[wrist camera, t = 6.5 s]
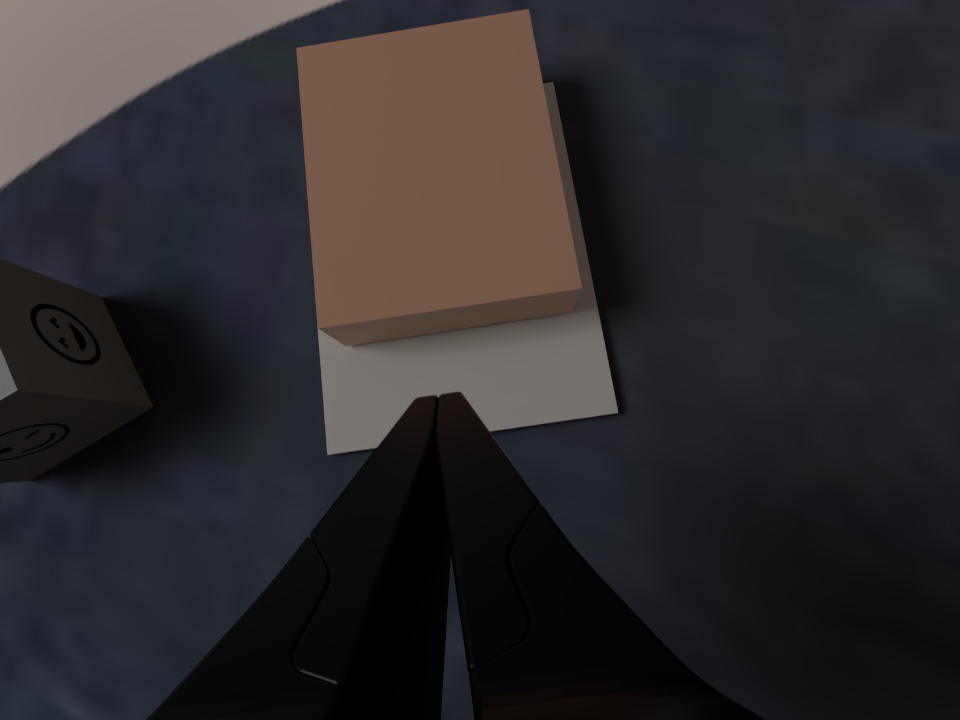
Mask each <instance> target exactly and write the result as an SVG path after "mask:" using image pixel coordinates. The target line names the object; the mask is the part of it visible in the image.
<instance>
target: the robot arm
mask: <svg viewBox="0 0 960 720" xmlns="http://www.w3.org/2000/svg"><path fill="white" fill-rule="evenodd" d="M310 535H311V537H308V538H306V540H305V541H304V542H303V543H302V545H301V546H300V547H299V549H298V550H297V551H296V552H295V554H294V555H293V556H292V558H291V559H290V560H289V561H288V562H287V564H286V565H285V566H284V567H283V569H282V570H281V571H280V572H279V574H278V575H277V576H276V577H275V578H274V580H273V581H272V582H271V583H270V585H269V586H268V587H267V588H266V589H265V590H264V592H263V593H262V594H261V595H260V596H259V597H258V598H257V600H256V601H255V602H254V603H253V604H252V605H251V606H250V607H249V609H248V610H247V611H246V612H245V613H244V614H243V615H242V616H241V618H240V619H239V620H238V621H237V622H236V623H235V624H234V625H233V626H232V628H231V629H230V630H229V631H228V632H227V633H226V634H225V635H224V636H223V637H222V638H221V639H220V641H219V642H218V643H217V644H216V645H215V646H214V647H213V648H212V649H211V650H210V651H209V652H208V654H207V655H206V656H205V657H204V658H203V659H202V660H201V661H200V662H199V663H198V664H197V666H196V667H195V668H194V669H193V670H192V671H191V672H190V673H189V674H188V675H187V676H186V677H185V679H184V680H183V681H182V682H181V683H180V684H179V685H178V686H177V687H176V688H175V689H174V691H173V692H172V693H171V694H170V695H169V696H168V697H167V698H166V699H165V700H164V701H163V702H162V704H161V705H160V706H159V707H158V708H157V709H156V710H155V711H154V712H153V713H152V714H151V715H150V716H149V717H148V718H147V719H146V720H441V706H442V690H443V673H444V657H445V640H446V624H447V607H448V591H449V574H450V558H451V557H452V564H453V571H454V578H455V585H456V592H457V599H458V605H459V612H460V619H461V626H462V633H463V640H464V646H465V653H466V660H467V667H468V672H469V681H470V688H471V695H472V703H473V711H474V720H765V719H764V718H762V717H760V716H758V715H757V714H755V713H753V712H752V711H750V710H748V709H746V708H745V707H743V706H741V705H740V704H738V703H736V702H734V701H733V700H731V699H729V698H728V697H726V696H725V695H723V694H721V693H720V692H718V691H717V690H715V689H714V688H713V687H711V686H710V685H708V684H707V683H706V682H704V681H703V680H702V679H701V678H700V677H698V676H697V675H696V674H695V673H693V672H692V671H691V670H690V669H689V668H688V667H687V666H686V665H685V664H684V663H683V662H681V661H680V660H679V659H678V658H677V657H676V656H675V655H674V654H673V653H672V652H671V651H670V650H669V649H668V648H667V647H666V646H665V645H664V644H663V642H662V641H661V640H660V639H659V638H658V637H657V636H656V635H655V634H654V633H653V632H652V631H651V630H650V629H649V628H648V627H647V626H646V625H645V623H644V622H643V621H642V620H641V619H640V618H639V617H638V616H637V615H636V614H635V613H634V612H633V611H632V610H631V609H630V608H629V607H628V606H627V604H626V603H625V602H624V601H623V600H622V599H621V598H620V597H619V596H618V595H617V594H616V593H615V592H614V591H613V590H612V589H611V588H610V586H609V585H608V584H607V583H606V582H605V581H604V580H603V579H602V578H601V577H600V576H599V575H598V574H597V573H596V572H595V570H594V569H593V568H592V567H591V566H590V565H589V564H588V563H587V561H586V560H585V559H584V558H583V557H582V556H581V555H580V554H579V552H578V551H577V550H576V549H575V548H574V547H573V545H572V544H571V543H570V542H569V540H568V539H567V538H566V536H565V535H564V534H563V532H562V531H561V530H560V529H559V527H558V526H557V525H556V523H555V522H554V521H553V519H552V518H551V517H550V515H549V514H548V512H547V511H546V510H545V508H544V507H543V506H542V505H540V502H539V500H538V499H537V497H536V496H535V494H534V493H533V492H532V490H531V489H530V487H529V486H528V485H527V483H526V482H525V480H524V479H523V478H522V476H521V475H520V473H519V472H518V471H517V469H516V468H515V466H514V465H513V464H512V462H511V461H510V459H509V458H508V457H507V455H506V454H505V452H504V451H503V450H502V448H501V447H500V445H499V444H498V443H497V441H496V440H495V438H494V437H493V435H492V434H491V433H490V431H489V430H488V428H487V427H486V426H485V424H484V423H483V421H482V420H481V419H480V417H479V416H478V414H477V413H476V412H475V410H474V409H473V407H472V406H471V405H470V403H469V402H468V400H467V399H466V398H465V396H464V395H463V393H461V392H459V391H458V392H451V393H444V394H441V395H440V396H439V397H438V396H436V395H431V396H424V397H418V398H416V399H414V400H413V402H412V403H411V404H410V406H409V407H408V408H407V409H406V411H405V412H404V413H403V415H402V416H401V417H400V418H399V420H398V421H397V422H396V424H395V425H394V426H393V427H392V429H391V430H390V431H389V433H388V434H387V435H386V437H385V438H384V439H383V440H382V442H381V443H380V444H379V446H378V447H377V448H376V449H375V451H374V452H373V453H372V455H371V456H370V457H369V458H368V460H367V461H366V462H365V464H364V465H363V466H362V468H361V469H360V470H359V471H358V473H357V474H356V475H355V477H354V478H353V479H352V480H351V482H350V483H349V484H348V486H347V487H346V488H345V489H344V491H343V492H342V493H341V495H340V496H339V497H338V499H337V500H336V501H335V502H334V504H333V505H332V506H331V508H330V509H329V510H328V511H327V513H326V514H325V515H324V517H323V518H322V519H321V520H320V522H319V523H318V524H317V526H316V527H315V528H314V530H313V531H312V532H311V534H310Z"/></svg>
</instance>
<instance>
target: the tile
mask: <svg viewBox="0 0 960 720" xmlns="http://www.w3.org/2000/svg"><path fill="white" fill-rule="evenodd" d="M297 61H298V74H299V87H300V100H301V114H302V127H303V140H304V153H305V166H306V179H307V192H308V205H309V218H310V231H311V244H312V257H313V271H314V284H315V297H316V310H317V323H318V329H319V330H321V331H323V332H324V333H326V334H327V335H329V336H330V337H332V338H333V339H335V340H336V341H338V342H339V343H341V344H343V345H344V346H351V345H358V344H365V343H371V342H378V341H385V340H391V339H398V338H405V337H411V336H418V335H425V334H431V333H438V332H445V331H451V330H458V329H464V328H471V327H478V326H484V325H491V324H498V323H504V322H511V321H518V320H524V319H531V318H538V317H544V316H551V315H557V314H564V313H571V311H572V309H573V307H574V305H575V303H576V300H577V298H578V296H579V294H580V292H581V290H582V285H581V280H580V274H579V269H578V264H577V259H576V254H575V248H574V243H573V238H572V233H571V228H570V222H569V217H568V212H567V207H566V202H565V196H564V191H563V186H562V181H561V176H560V170H559V165H558V160H557V155H556V150H555V144H554V139H553V134H552V129H551V123H550V118H549V113H548V108H547V103H546V97H545V92H544V87H543V82H542V77H541V71H540V66H539V61H538V56H537V51H536V45H535V40H534V35H533V30H532V25H531V19H530V14H529V9H527V10H521V11H515V12H509V13H503V14H497V15H491V16H485V17H479V18H473V19H467V20H461V21H455V22H449V23H443V24H437V25H431V26H425V27H419V28H413V29H408V30H402V31H396V32H390V33H384V34H378V35H372V36H366V37H360V38H354V39H348V40H342V41H336V42H330V43H324V44H318V45H312V46H306V47H300V48H297Z"/></svg>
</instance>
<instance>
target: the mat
mask: <svg viewBox="0 0 960 720" xmlns="http://www.w3.org/2000/svg"><path fill="white" fill-rule="evenodd" d="M543 87H544V92H545V97H546V103H547V108H548V113H549V118H550V123H551V129H552V134H553V139H554V144H555V150H556V155H557V160H558V165H559V170H560V176H561V181H562V186H563V191H564V196H565V202H566V207H567V212H568V217H569V222H570V228H571V233H572V238H573V243H574V248H575V254H576V259H577V264H578V269H579V274H580V280H581V285H582V290H581V292H580V294H579V296H578V298H577V300H576V303H575V305H574V307H573V309H572V311H571V313H564V314H557V315H551V316H544V317H538V318H531V319H524V320H518V321H511V322H504V323H498V324H491V325H484V326H478V327H471V328H464V329H458V330H451V331H445V332H438V333H431V334H425V335H418V336H411V337H405V338H398V339H391V340H385V341H378V342H371V343H365V344H358V345H351V346H344V345H343V344H341V343H339V342H338V341H336V340H335V339H333V338H332V337H330V336H329V335H327V334H326V333H324V332H323V331H321V330H319V329H318V336H319V350H320V363H321V376H322V389H323V402H324V415H325V428H326V441H327V454H328V455H333V454H340V453H347V452H353V451H360V450H367V449H374V448H377V447H378V446H379V444H380V443H381V442H382V440H383V439H384V438H385V437H386V435H387V434H388V433H389V431H390V430H391V429H392V427H393V426H394V425H395V424H396V422H397V421H398V420H399V418H400V417H401V416H402V415H403V413H404V412H405V411H406V409H407V408H408V407H409V406H410V404H411V403H412V402H413V400H414V399H416V398H418V397H424V396H431V395H436V396H438V397H439V396H440V395H441V394H444V393H451V392H458V391H459V392H461V393H463V395H464V396H465V398H466V399H467V400H468V402H469V403H470V405H471V406H472V407H473V409H474V410H475V412H476V413H477V414H478V416H479V417H480V419H481V420H482V421H483V423H484V424H485V426H486V427H487V428H488V430H489V431H490V432H492V431H499V430H506V429H513V428H519V427H526V426H533V425H540V424H547V423H554V422H561V421H568V420H575V419H582V418H589V417H595V416H602V415H609V414H616V413H618V409H617V403H616V398H615V393H614V388H613V383H612V378H611V373H610V368H609V363H608V358H607V353H606V348H605V343H604V338H603V332H602V327H601V322H600V317H599V312H598V307H597V302H596V297H595V292H594V287H593V282H592V277H591V272H590V266H589V261H588V256H587V251H586V246H585V241H584V236H583V231H582V226H581V221H580V216H579V211H578V206H577V201H576V195H575V190H574V185H573V180H572V175H571V170H570V165H569V160H568V155H567V150H566V145H565V140H564V135H563V129H562V124H561V119H560V114H559V109H558V104H557V99H556V94H555V89H554V84H553V82H550V83H543ZM307 193H308V192H307ZM308 206H309V205H308ZM309 219H310V218H309ZM310 232H311V231H310ZM311 245H312V244H311ZM312 258H313V257H312Z"/></svg>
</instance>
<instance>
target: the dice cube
mask: <svg viewBox="0 0 960 720" xmlns="http://www.w3.org/2000/svg"><path fill="white" fill-rule="evenodd" d="M152 407H153V405H152V403H151V401H150V399H149V396H148V394H147V392H146V390H145V388H144V386H143V384H142V382H141V379H140V377H139V375H138V373H137V371H136V369H135V367H134V365H133V362H132V360H131V358H130V356H129V354H128V352H127V350H126V348H125V346H124V343H123V341H122V339H121V337H120V335H119V333H118V331H117V329H116V326H115V324H114V322H113V320H112V318H111V316H110V314H109V312H108V309H107V307H106V305H105V303H104V301H103V299H102V297H100V296H97V295H95V294H92V293H89V292H87V291H84V290H81V289H79V288H76V287H74V286H71V285H68V284H66V283H63V282H60V281H58V280H55V279H52V278H50V277H47V276H45V275H42V274H39V273H37V272H34V271H31V270H29V269H26V268H23V267H21V266H18V265H16V264H13V263H10V262H8V261H5V260H2V259H0V483H5V482H21V481H31V480H33V479H35V478H36V477H38V476H40V475H41V474H43V473H45V472H46V471H48V470H49V469H51V468H53V467H54V466H56V465H58V464H59V463H61V462H63V461H64V460H66V459H68V458H69V457H71V456H73V455H74V454H76V453H78V452H79V451H81V450H83V449H84V448H86V447H88V446H89V445H91V444H93V443H94V442H96V441H98V440H99V439H101V438H103V437H104V436H106V435H108V434H109V433H111V432H113V431H114V430H116V429H118V428H119V427H121V426H122V425H124V424H126V423H127V422H129V421H131V420H132V419H134V418H136V417H137V416H139V415H141V414H142V413H144V412H146V411H147V410H149V409H151V408H152Z"/></svg>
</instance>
